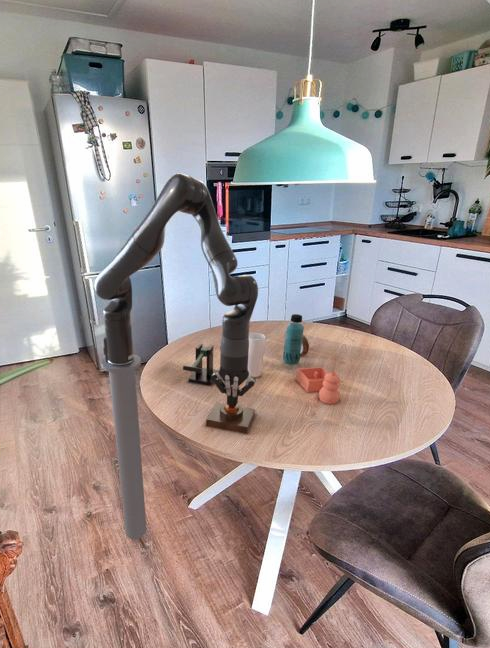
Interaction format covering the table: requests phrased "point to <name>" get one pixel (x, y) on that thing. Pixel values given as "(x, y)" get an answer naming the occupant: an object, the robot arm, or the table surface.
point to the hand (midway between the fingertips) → (232, 406)
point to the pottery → (320, 383)
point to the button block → (231, 418)
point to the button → (231, 409)
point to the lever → (197, 361)
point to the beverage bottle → (293, 341)
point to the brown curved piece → (303, 345)
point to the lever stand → (206, 372)
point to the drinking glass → (255, 353)
